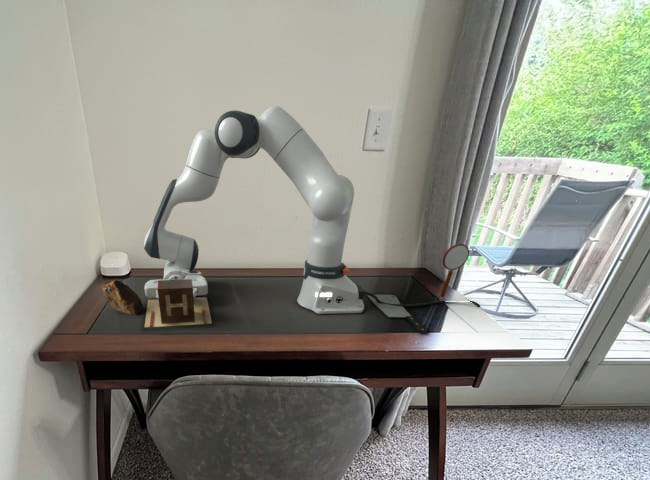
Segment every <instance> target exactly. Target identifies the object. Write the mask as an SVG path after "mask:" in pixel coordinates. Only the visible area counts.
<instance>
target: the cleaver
mask: <svg viewBox="0 0 650 480" xmlns="http://www.w3.org/2000/svg"><path fill="white" fill-rule="evenodd" d="M372 294H373V293H372ZM373 295H375V296H376V297H377V298H378V299H379V300H380V301H382V302H384V303H389V304H401V302H400V301H399V299H398V297H397V296H396V295H392V294H373ZM366 296H367V297H368V298H369V299H370V301H371V302H372V303H373V304H374V305H375V306H376V307H377V308H378V309H379V310H380V311H381V312H382V313H384V315H386V316H387V317H388V318H405V319H407V321H409V323H411V324H412V325H413V327H414V328H415V331H416V332H417V333H420V334H423V335H426V334H427V333H428V329H426V328H425V327H424V326H423V325H422V324H421V322H419V321H418V320H417V319H416V318H414V316H412V314H410V313H409V312H408V311H407V309H406V308H405V307H403V306H394V305H389V304H382V303H378V302H377V301H376V300H375V299H374V298H373V297H371V296H369V295H366Z"/></svg>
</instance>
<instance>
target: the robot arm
mask: <svg viewBox="0 0 650 480" xmlns="http://www.w3.org/2000/svg"><path fill="white" fill-rule="evenodd" d="M260 149H262V150H264V151H265V152H266V153H267V154H268V155H269V156H270V157H271V159H272V160H273V161H274V163H276V164H277V165H278V167H279V169H281V170H282V172H283V173H284V174H285V176H287V177H288V178H289V180H290V181H291V182H292V183H293V185H294V186H295V188H296V190H297V191H298V192H299V194H300V196H301V197H302V199H303V201H304V202H305V203H306V205H307V206H308V207H309V209H310V210H311V213H312V214H313V219H312V224H311V228H310V233H309V239H308V246H307V255H306V259H305V261H304V265H303V273H302V274H303V275H302V276H303V279H302V280H303V281H302V285H301V288H300V291H299V295H298V297H297V299H296V302H297V303H298V305H299V306H301V307H303V308H305V309H307V310H311V311H313V312H314V313H316V314H318V315H328V314H329V315H331V314H333V315H334V314H335V315H336V314H361V313H363V312H364V310H365V304H364V299H365V295H366V296H367V295H369V296H371V297H373V298H374V299H375V300H376V301H377V302H378V303H382V304H389V303H384V302H382V301H380V300H379V299H378V298H377V297H376V296H375V295H376V294H375V295H373V293H372V292H371V293H370V292H368V291H366V290H365V289H364V288H363V287H362V285H356V284H355V282H354V281H352V280H351V279H350V278H349V277H348V275H349V274H350V273H351V272H350V269H349V267H347V265H346V264H345V263H344V262H342V260H343V254H344V249H345V243H346V238H347V233H348V228H349V223H350V218H351V213H352V207H353V203H354V197H355V187H354V184H353V182H352V181H351V180H350V179H349V178H348V177H347V176H345V175H342V174H338V173H337V171H336V170H335V168H334V167H333V165H331V163H330V161H329V160H328V159H327V157H326V155H325V154H324V152H323V150H322V149H321V148H320V146H319V145H318V144H317V143H316V142H315V141H314V140H313V138H312V137H311V136H310V135H309V134H308V132H307V131H306V130H305V129H304V127H302V125H301V124H300V123H299V122H298V121H297V120H296V119H295V118H294V117H293V116H292V115H291V114H290V113H289V112H287V110H285V109H283V108H282V107H280V106H278V105H273V106H270V107H268V108H266V109H265V110H264V111H263V112H262V113H261V114H260V115H259V116H258V117H256V115H254V114H251V113H247V112H244V111H241V110H229V111H226V112H224V113H223V114H222V115H220V117H219V118H218V119H217V121H216V124H215V127H214V130H213V129H208V128H207V129H201V130H199V131H197V133H196V134H195V136H194V138H193V140H192V143H191V146H190V149H189V151H188V155H187V158H186V162H185V166H184V169H183V171H182V173H181V174H180V176H178V178H175V179H172V180H171V181H170V182H169V184H168V186H167V188H166V190H165V193H164V194H163V197H162V199H161V201H160V204H159V207H158V209H157V211H156V214H155V216H154V219H153V222H152V224H151V226H150V227H149V230H148V231H147V233H146V235H145V236H144V240H143V249H144V251H145V252H146V254H147V255H148V256H149V257H150V258H153V259H157V260H162V261H163V260H164V261H166V263H165V266H164V269H163V277H162V278H161V279H149V280H148V281H147V282H145V283H144V295H145V297H146V298H148V299H155V298H157V299H158V290H157V288H158V280H182V279H192V285H193V298H194V299H195V298H197V296H207V295H208V294H209V285H208V281H207V280H206V278H205V277H204V276H203V275H202V274H203V273H202V271H199V270H194V269H195V268H196V266H197V263H198V260H199V254H200V253H199V251H200V250H199V245H198V242H197V241H196V239H195V238H193V237H190V236H187V235H183V234H179V233H176V232H172V231H169V230H167V229H166V228H165V227H166V225H167V223H168V220H169V218H170V215H171V213H172V211H173V209H174V207H176V206H177V205H179V204H183V203H194V202H203V201H205V200H207V199H210V198H211V197H212V196H213V195H214V194H215V192H216V189H217V187H218V185H219V183H220V182H219V181H220V179H221V175H222V174H221V173H222V170H223V168H224V165H225V163H226V162H227V160H228V159H250V158H253V157H254V156H255V155H256V154H257V153H258V152H260ZM434 301H435V300H433V301H432V300H431V301H428V302H422V303H407V304H405V303H403V304H402V303H400V304H389V305H394V306H403V307H404V308H414V307H415V308H416V307H423V306H429V305H434V304H447V303H446V302H445V301H444V300H442V301H440V300H437V301H438V302H434ZM469 301H470V302H472V303H473V305H475V306H476V307H477V308H481V307H482V306H481V305H480V304H479V303H478V302H476V301H475V300H469ZM472 303H471V304H472Z"/></svg>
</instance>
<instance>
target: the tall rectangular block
mask: <svg viewBox="0 0 650 480" xmlns="http://www.w3.org/2000/svg"><path fill="white" fill-rule="evenodd" d="M157 280H158V288H157V290H158V298H157V300H159V307H160V315H161V324H166V323H183V322H195V314H194V298H193V285H192V279H182V280H160V279H157Z"/></svg>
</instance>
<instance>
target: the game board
mask: <svg viewBox="0 0 650 480" xmlns="http://www.w3.org/2000/svg"><path fill="white" fill-rule="evenodd" d="M208 301H209V300H208V297H206V296H203V297H195V299H194V314H195V322H183V323H166V324H161V315H160V307H159V299H148V300H147V305H146V312H145V320H144V328H159V327H161V328H162V327H175V326H192V325H193V326H195V325H208V324H209V325H210V324H213V321H212V316H211V311H210V307H209V302H208Z"/></svg>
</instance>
